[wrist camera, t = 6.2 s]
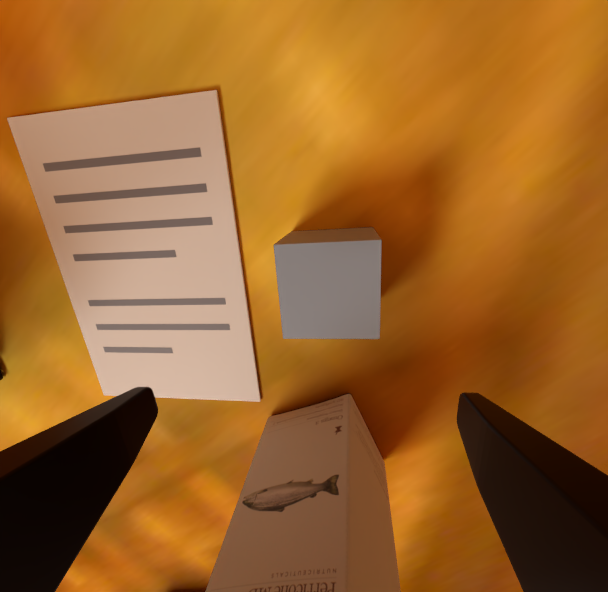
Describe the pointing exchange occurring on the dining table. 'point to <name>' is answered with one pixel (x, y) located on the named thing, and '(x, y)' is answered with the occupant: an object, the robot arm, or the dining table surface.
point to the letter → (147, 242)
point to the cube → (329, 283)
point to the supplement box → (311, 509)
